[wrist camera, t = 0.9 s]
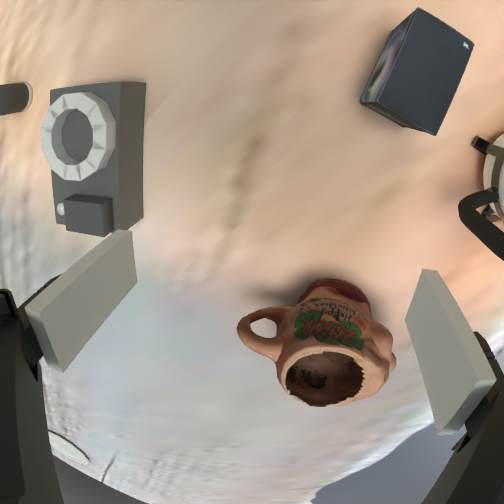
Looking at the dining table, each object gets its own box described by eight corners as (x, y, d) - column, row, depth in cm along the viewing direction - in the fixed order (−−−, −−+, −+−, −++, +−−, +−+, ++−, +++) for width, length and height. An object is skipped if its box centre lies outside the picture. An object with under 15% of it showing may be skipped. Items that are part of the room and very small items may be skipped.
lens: (15, 84, 36) (-31, 90, 27) (33, 80, 35) (-15, 84, 27) (14, 112, 38) (-31, 122, 29) (32, 110, 38) (-15, 119, 29)
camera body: (78, 88, 35) (37, 90, 28) (146, 83, 34) (109, 81, 27) (81, 208, 44) (45, 230, 36) (143, 217, 42) (111, 242, 35)
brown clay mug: (243, 324, 47) (221, 395, 35) (256, 251, 42) (233, 316, 29) (371, 349, 46) (382, 421, 33) (401, 282, 40) (429, 352, 28)
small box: (389, 27, 27) (416, 2, 18) (437, 55, 27) (478, 43, 18) (355, 102, 32) (374, 100, 23) (405, 129, 32) (438, 139, 23)
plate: (59, 450, 96) (57, 453, 95) (36, 421, 87) (34, 424, 86) (98, 467, 93) (96, 470, 92) (76, 440, 84) (74, 443, 83)
